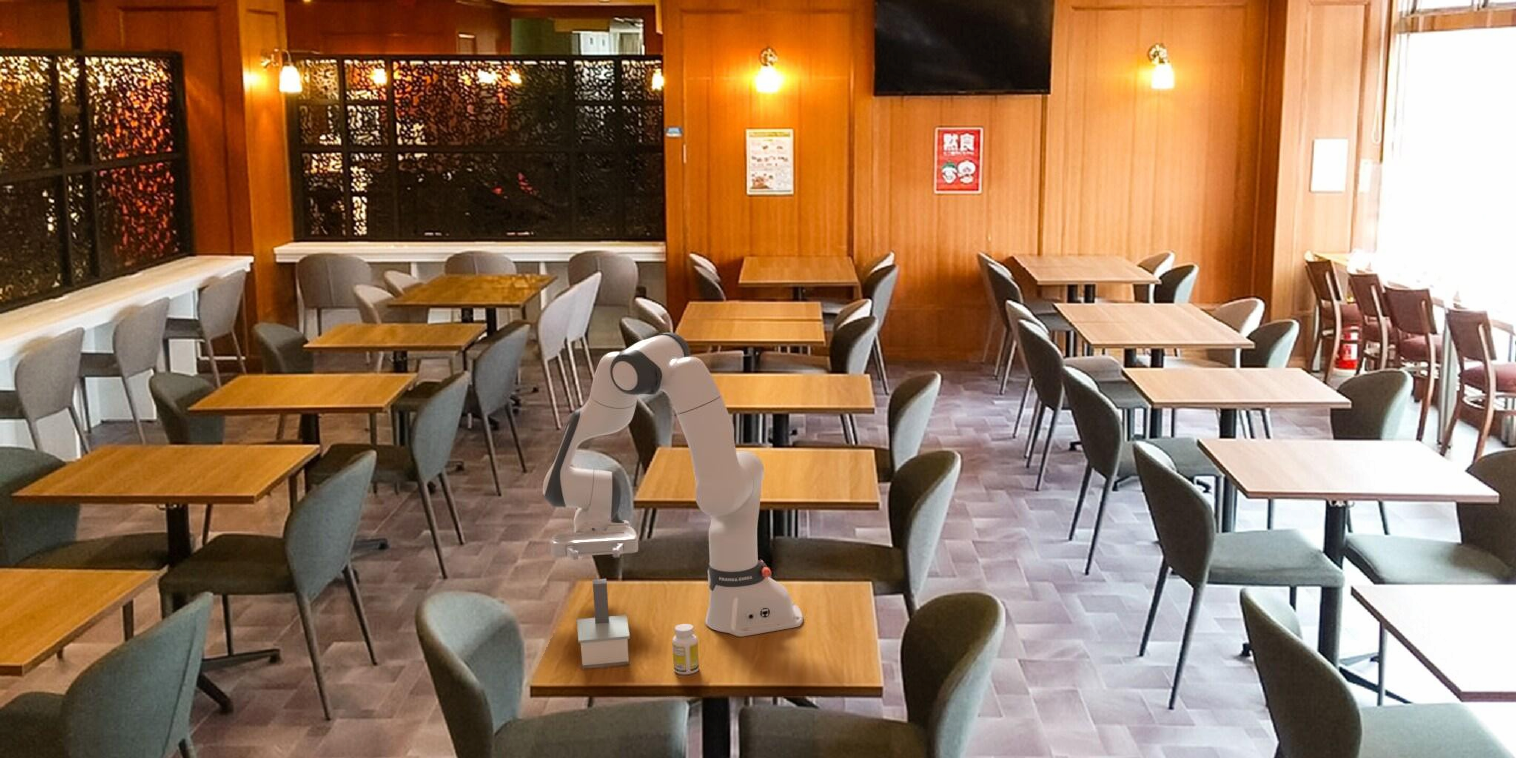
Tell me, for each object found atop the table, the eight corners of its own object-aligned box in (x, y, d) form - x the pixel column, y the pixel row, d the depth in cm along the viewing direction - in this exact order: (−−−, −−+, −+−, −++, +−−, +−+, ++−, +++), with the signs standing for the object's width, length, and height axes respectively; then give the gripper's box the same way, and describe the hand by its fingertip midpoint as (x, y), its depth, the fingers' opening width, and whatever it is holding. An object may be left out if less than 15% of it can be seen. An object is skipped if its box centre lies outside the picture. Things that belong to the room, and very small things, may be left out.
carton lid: (577, 621, 320) (574, 580, 317) (626, 617, 321) (624, 576, 319) (578, 643, 308) (575, 600, 306) (629, 638, 310) (627, 595, 307)
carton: (581, 648, 321) (579, 623, 319) (625, 644, 322) (624, 619, 321) (582, 668, 310) (580, 642, 309) (628, 664, 311) (627, 638, 310)
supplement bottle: (697, 663, 311) (695, 621, 309) (700, 673, 306) (698, 630, 303) (672, 666, 310) (670, 623, 308) (675, 676, 305) (673, 633, 302)
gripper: (548, 525, 339) (549, 545, 325) (635, 520, 342) (639, 539, 328) (549, 550, 340) (550, 571, 327) (636, 545, 343) (640, 565, 330)
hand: (595, 555), depth 328 cm, fingers open, 8 cm apart
